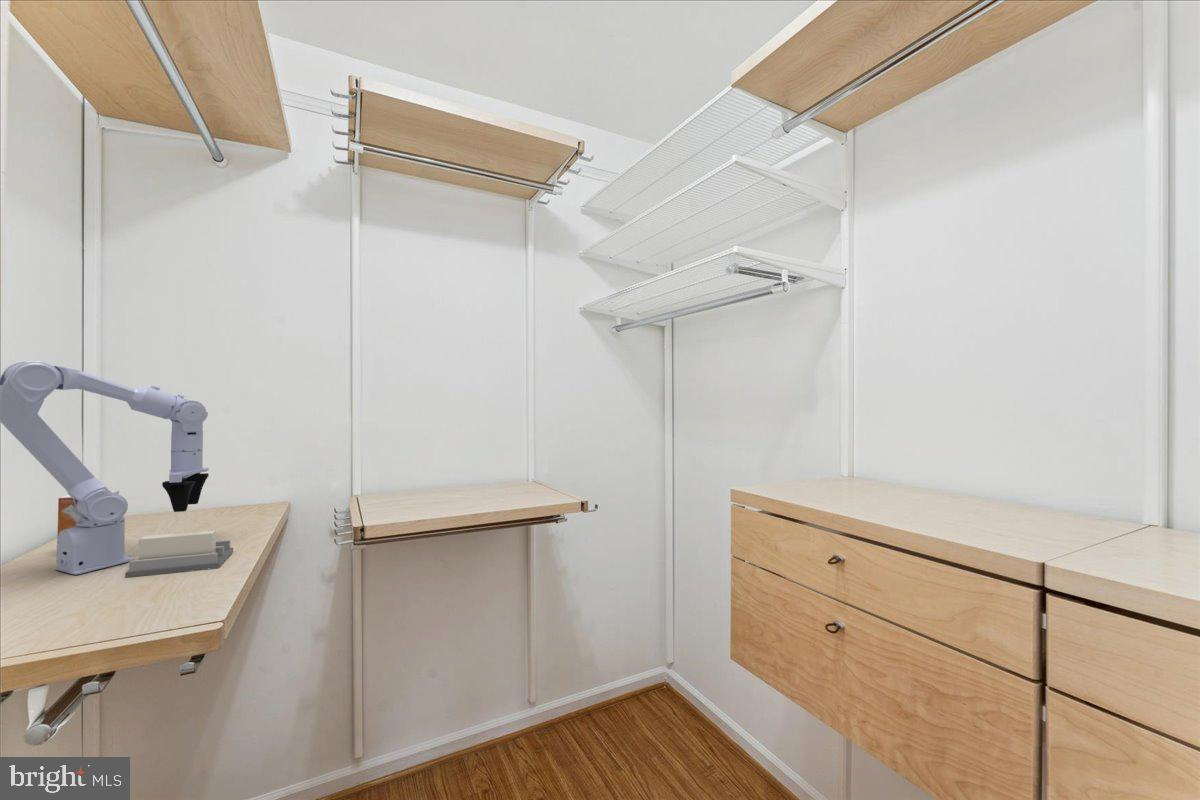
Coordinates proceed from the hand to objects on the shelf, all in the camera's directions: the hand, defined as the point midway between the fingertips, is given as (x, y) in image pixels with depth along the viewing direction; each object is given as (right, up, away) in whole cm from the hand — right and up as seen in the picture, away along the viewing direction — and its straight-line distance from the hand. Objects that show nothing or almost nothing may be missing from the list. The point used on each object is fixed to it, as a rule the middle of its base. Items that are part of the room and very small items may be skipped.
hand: (186, 507), depth 114 cm
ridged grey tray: (+9, -10, -11) cm, 17 cm away
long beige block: (+9, -9, -13) cm, 18 cm away
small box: (-20, -9, -3) cm, 22 cm away
